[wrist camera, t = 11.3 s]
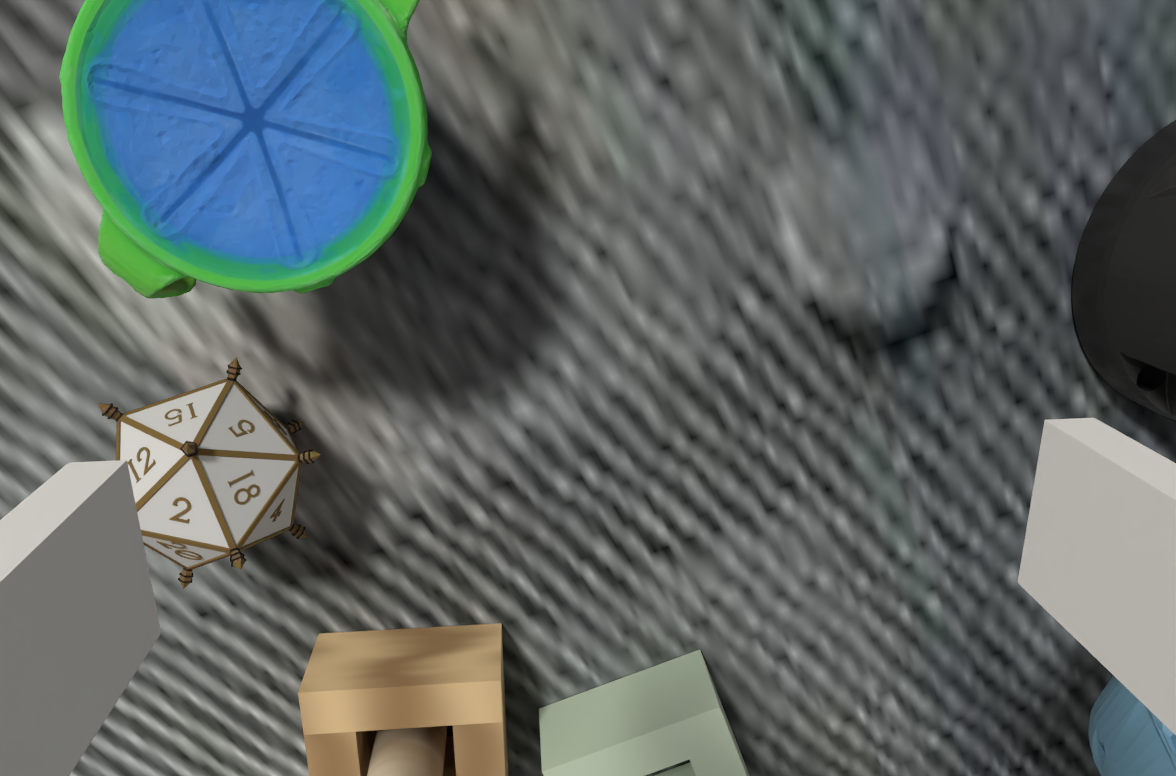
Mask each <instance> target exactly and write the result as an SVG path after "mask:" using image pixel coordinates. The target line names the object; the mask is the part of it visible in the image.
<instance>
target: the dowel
mask: <svg viewBox="0 0 1176 776" xmlns="http://www.w3.org/2000/svg"><path fill="white" fill-rule="evenodd" d="M446 736H447V726H435V727H420V728H404V729H389V730H377V731H376V735H375V740H374V745H373V750H372V755H371V760H370V764H369V769H368V774H367V776H443V767H444V757H445V746H446Z"/></svg>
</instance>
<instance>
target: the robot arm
mask: <svg viewBox="0 0 1176 776" xmlns="http://www.w3.org/2000/svg"><path fill="white" fill-rule="evenodd" d="M1072 304H1073V314H1074V320H1075V325H1076V329H1077V333H1078V336H1079V339H1080V342H1081V345H1082V347H1083V349H1084V351H1085V354H1086V355H1087V357H1088V359H1089V361H1090V363H1091V364H1092V365H1093V367H1094V368H1095V370H1096V371H1097V372H1098V374H1099V375H1100V376H1101V377H1102V378H1103V379H1104V380H1105V381H1106V382H1107V383H1108V384H1109V385H1110V386H1111V387H1112V388H1114V389H1115V390H1116V391H1117V392H1119V393H1120V394H1122V395H1123V396H1125V397H1126V398H1128V399H1130V400H1132V401H1134V402H1136V403H1138V404H1140V405H1142V406H1144V407H1146V408H1148V409H1150V410H1152V411H1154V412H1156V413H1158V414H1160V415H1162V416H1165V417H1167V418H1169V419H1172V420H1175V421H1176V120H1175V121H1173V122H1172V123H1170V124H1169V125H1167V126H1166V127H1165V128H1163V129H1162V130H1160V131H1159V132H1158V133H1157V134H1155V135H1154V136H1153V137H1152V138H1150V139H1149V140H1148V141H1147V142H1146V143H1145V144H1144V145H1142V146H1141V147H1140V148H1139V149H1138V150H1137V151H1136V152H1135V153H1134V154H1133V155H1132V156H1131V157H1130V158H1129V159H1128V161H1127V162H1126V163H1125V164H1124V165H1123V166H1122V168H1121V169H1120V170H1119V171H1118V173H1117V174H1116V175H1115V176H1114V178H1113V179H1112V180H1111V182H1110V183H1109V185H1108V186H1107V188H1106V189H1105V191H1104V192H1103V194H1102V196H1101V197H1100V199H1099V201H1098V203H1097V204H1096V206H1095V208H1094V210H1093V212H1092V214H1091V216H1090V218H1089V221H1088V223H1087V225H1086V228H1085V230H1084V233H1083V236H1082V239H1081V242H1080V245H1079V249H1078V252H1077V257H1076V262H1075V267H1074V274H1073V285H1072ZM1018 583H1019V584H1020V585H1021V586H1022V587H1023V588H1024V589H1025V590H1026V591H1027V592H1028V593H1029V594H1030V595H1031V596H1032V597H1033V598H1034V599H1035V600H1036V601H1037V602H1038V603H1039V604H1040V605H1041V606H1042V607H1043V608H1044V609H1045V610H1046V611H1047V612H1049V613H1050V614H1051V615H1052V616H1053V617H1054V618H1055V619H1056V620H1057V621H1058V622H1059V623H1060V624H1061V625H1062V626H1063V627H1064V628H1065V629H1066V630H1067V631H1068V632H1069V633H1070V634H1071V635H1072V636H1073V637H1074V638H1075V639H1076V640H1077V641H1078V642H1080V643H1081V644H1082V645H1083V646H1084V647H1085V648H1086V649H1087V650H1088V651H1089V652H1090V653H1091V654H1092V655H1093V656H1094V657H1095V658H1096V659H1097V660H1098V661H1099V662H1100V663H1101V664H1102V665H1103V666H1104V667H1105V668H1106V669H1107V670H1108V671H1109V672H1111V673H1112V674H1113V677H1112V678H1111V679H1110V681H1109V682H1108V684H1107V685H1106V687H1105V688H1104V689H1103V691H1102V692H1101V694H1100V695H1099V697H1098V698H1097V700H1096V701H1095V703H1094V706H1093V708H1092V711H1091V714H1090V720H1089V742H1090V747H1091V751H1092V754H1093V759H1094V762H1095V764H1096V766H1097V768H1098V770H1099V772H1100V774H1101V776H1176V463H1174V462H1172V461H1171V460H1169V459H1167V458H1165V457H1163V456H1162V455H1160V454H1158V453H1156V452H1154V451H1153V450H1151V449H1149V448H1147V447H1145V446H1144V445H1142V444H1140V443H1138V442H1137V441H1135V440H1133V439H1131V438H1129V437H1128V436H1126V435H1124V434H1122V433H1120V432H1119V431H1117V430H1115V429H1113V428H1111V427H1110V426H1108V425H1106V424H1104V423H1103V422H1101V421H1099V420H1097V419H1095V418H1077V419H1054V420H1045V422H1044V428H1043V434H1042V440H1041V446H1040V452H1039V458H1038V464H1037V470H1036V475H1035V481H1034V487H1033V493H1032V499H1031V505H1030V511H1029V517H1028V523H1027V529H1026V535H1025V541H1024V547H1023V553H1022V559H1021V565H1020V571H1019V577H1018ZM160 634H161V629H160V624H159V619H158V614H157V609H156V604H155V599H154V594H153V589H152V584H151V579H150V574H149V569H148V564H147V559H146V554H145V549H144V544H143V539H142V534H141V529H140V524H139V519H138V514H137V509H136V504H135V499H134V494H133V489H132V484H131V479H130V473H129V468H128V463H127V460H120V461H97V462H74V463H68V464H66V465H65V466H64V467H63V468H62V469H61V470H59V471H58V472H57V473H56V474H55V475H53V476H52V477H51V478H50V479H49V480H47V481H46V482H45V483H44V484H43V485H42V486H40V487H39V488H38V489H37V490H36V491H34V492H33V493H32V494H31V495H30V496H28V497H27V498H26V499H25V500H24V501H22V502H21V503H20V504H19V505H18V506H17V507H15V508H14V509H13V510H12V511H11V512H9V513H8V514H7V515H6V516H5V517H3V518H2V519H1V520H0V776H69V775H70V774H71V772H72V770H73V769H74V767H75V766H76V764H77V763H78V761H79V760H80V758H81V756H82V755H83V753H84V752H85V750H86V749H87V747H88V746H89V744H90V742H91V741H92V739H93V738H94V736H95V735H96V733H97V732H98V730H99V728H100V727H101V725H102V724H103V722H104V721H105V719H106V718H107V716H108V715H109V713H110V711H111V710H112V708H113V707H114V705H115V704H116V702H117V701H118V699H119V697H120V696H121V694H122V693H123V691H124V690H125V688H126V687H127V685H128V683H129V682H130V680H131V679H132V677H133V676H134V674H135V673H136V671H137V670H138V668H139V666H140V665H141V663H142V662H143V660H144V659H145V657H146V656H147V654H148V652H149V651H150V649H151V648H152V646H153V645H154V643H155V642H156V640H157V638H158V637H159V635H160Z"/></svg>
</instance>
